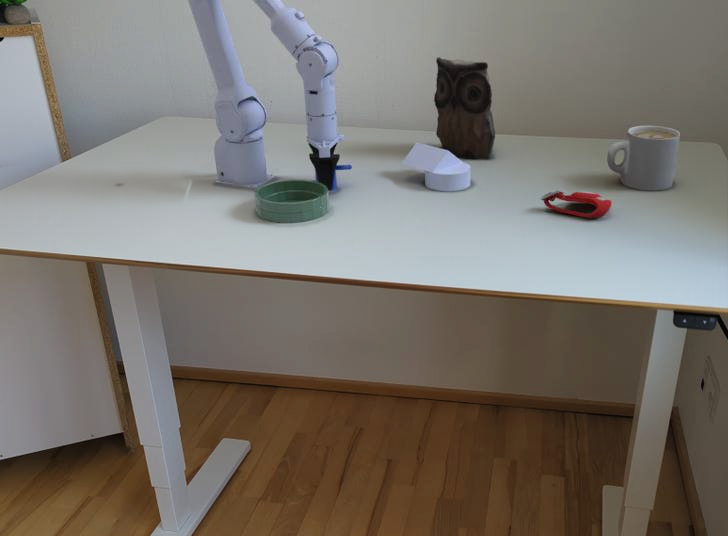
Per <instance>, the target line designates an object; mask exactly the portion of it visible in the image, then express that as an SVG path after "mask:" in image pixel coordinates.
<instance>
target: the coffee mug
mask: <svg viewBox="0 0 728 536" xmlns="http://www.w3.org/2000/svg"><path fill="white" fill-rule="evenodd" d="M680 140H681V133H680V132H679V130H677V129H674V128H670V127H666V126H659V125H639V126H638V125H637V126H633V127H630V128H628V129H627V133H626V140H625V141H624V140H623V141H618V142H615V143H613V144H612V145H611V146H610V147H609V150H608V152H607V157H606V161H607V166H608V168H609V169H610V171H612V172H614V173H617V174H618V175H620V176H621V178H620V182H621V183H622V185H624V186H625V187H628V188H630V189H634V190H639V191H648V192H650V191H651V192H655V191H663V190H664V191H665V190H668V189H670V188H671V187H672V186H673V183H674V177H675V171H676V170H675V169H676V165H677V159H678V153H679V146H680ZM619 151H624V153H623V154H624V155H623V159H622V161H621V163H620V164H616V161H615V159H616V155H617V154H618V152H619Z"/></svg>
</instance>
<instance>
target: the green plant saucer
mask: <svg viewBox="0 0 728 536" xmlns="http://www.w3.org/2000/svg"><path fill="white" fill-rule="evenodd" d="M329 192H330V191H328V188H327V186H325V185H324V184H322V183H319V182H316V180H309V179H283V180H277V181H276V180H275V181H272V182H267V183H266V184H265V183H264V184H262V185H260V186H258V187H256V189H255V190H254V191H253V194H254V195H253V196H254V204H255V212H256V215H257V216H258V217H259V218H260V219H262V220H265V221H268V222H273V223H279V224H281V223H282V224H283V223H285V224H287V223H288V224H291V223H292V224H293V223H302V222H307V221H312V220H313V221H314V220H316V219H319V218H321V217H323V216H324V215H326V214H327V213H328V212H329V210H330V194H329Z"/></svg>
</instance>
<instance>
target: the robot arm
mask: <svg viewBox="0 0 728 536" xmlns="http://www.w3.org/2000/svg"><path fill="white" fill-rule="evenodd" d="M187 1H188V4H189V7H190V10H191V13H192V16H193V19H194V22H195V25H196V29H197V32H198V34H199V37H200V40H201V43H202V46H203V49H204V52H205V55H206V58H207V61H208V64H209V67H210V70H211V73H212V77H213V79H214V82H215V84H216V88H217V90H218V91H217V94H216V98H215V100H214V105H213V106H214V110H215V113H216V119H215V123H216V127H217V129H218V132H219V133H220V136H218V138H217V139H216V140H215V143H214V147H213V149H214V150H213V152H214V153H213V154H214V161H215V167H216V175H217V180H215V183H217V184H224V185H231V186H239V187H247V188H253V189H255V188H256V189H257V188H259V187H261V186H263V185H264V184H265V183H268V182H269V181H271V180H273V179H274V178H276V176H277V175H276V174H270V173H268V172H267V164H266V154H265V153H266V152H265V144H264V129H263V128H264V127H265V126H266V124H267V121H268V111H267V109H266V106H265V105H264V104H263V103H262V101H261V100H260V98H259V96H258V94H257V91H256V90H255V89H254V88H253V87H252V86H251V85H249V84H248V83H247V81H246V79H245V74H244V71H243V69H242V66H241V63H240V59H239V57H238V56H239V55H238V53H237V50H236V46H235V44H234V40H233V37H232V35H231V31H230V29H229V25H228V22H227V19H226V16H225V13H224V10H223V6H222V3H221V0H187ZM252 1H253V2H254V4H256V6H257V7H258V8H259V9H260V10H261V11H262V12H263V13H264V14H265V15H266V17H268V19H269V21H270V31H271V32H272V33H273V34H274V36H275V37H276V39H278V41H279V42H280V43H281V44H282V45H283V47H284V48H285V49H286V50H287V51H288V52H289V54H290V55H291V56H292V57H293V58H294V60H295V61H297V62H296V63H295V68H296V70H297V72H298V74H299V76H300V77H301V79H302V82H303V91H304V106H305V120H306V133H307V136H306V142H307V144H308V146H309V148H310V150H311V152H312V153H309V155H308V156H309V160H310V162H311V164H312V165H313V167H314V171H315V170H316V173H317V177H318V181H319V183H322V184H324V185H325V186H327V188H328V190H332V188H333V182H334V173H335V168H336V165H338V163H339V160H340V158H341V155H340V153H335V151H336V148H337V145H338V142H340V141H342V142H343V141H344V140H345V135H344V134H342V133H339V131H338V113H337V98H336V97H337V95H336V94H337V93H336V83H335V82H336V80H335V71H336V70H337V69H338V66H339V62H340V61H339V60H340V58H339V54H338V51H337V50H336V49H335V46H334V45H333V43H331V42H329V41H326V40H323V38H322V36H321V35H320V34H317V33H316V32H315V31H314V29H313V28H312V27H311V26H310V25H309V24H308V22H307V21H306V20H305V17H306V15H305V14H304V13H303V12H302V11H301V10H299V11H298V10H297V9H296V8H295V7H289V6H285V4H284V3H283V2H282V1H281V0H252Z"/></svg>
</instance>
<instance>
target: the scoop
mask: <svg viewBox="0 0 728 536" xmlns="http://www.w3.org/2000/svg"><path fill="white" fill-rule="evenodd" d="M352 168H353V166H352V164H337V165H336V168H335V173H334V182H333V188H332V190H328V192H332V191H335V190H337V188H338V187H337V186H338V185H337V184H338V183H337V171H346V170H347V171H348V170H352ZM314 172H315V181H316V182H319V181H318V177H317V173H316V170H315V169H314Z"/></svg>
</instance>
